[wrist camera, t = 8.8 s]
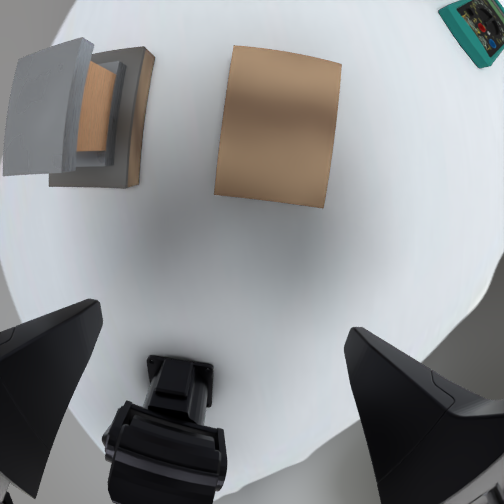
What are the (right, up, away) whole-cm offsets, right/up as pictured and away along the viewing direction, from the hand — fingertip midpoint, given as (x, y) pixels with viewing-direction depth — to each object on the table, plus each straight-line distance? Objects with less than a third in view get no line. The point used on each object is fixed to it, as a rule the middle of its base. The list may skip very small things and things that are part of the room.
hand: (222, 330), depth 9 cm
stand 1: (-10, +13, +8) cm, 18 cm away
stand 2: (+3, +11, +9) cm, 15 cm away
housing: (-10, +12, +6) cm, 17 cm away
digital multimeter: (+27, +28, +4) cm, 39 cm away
